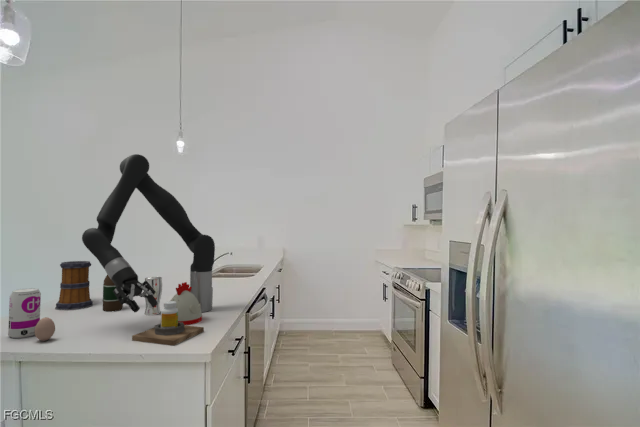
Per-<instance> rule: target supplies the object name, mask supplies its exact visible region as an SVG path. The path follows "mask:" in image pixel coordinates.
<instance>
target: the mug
mask: <svg viewBox="0 0 640 427" xmlns="http://www.w3.org/2000/svg"><path fill="white" fill-rule="evenodd" d="M91 266H92V262H91V261H90V260H72V261H63V262H61V263H60V264H59V267H60V268H61V282H60V287H59V288H60V292H59V298H58V301H57V302H56V304H55V308H54V310H57V311H76V310H78V311H79V310H85V309H87V308H92V307H93V306H94V302H93V301H92V298H91V295H90V277H89V274H90V267H91Z"/></svg>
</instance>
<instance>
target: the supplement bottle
mask: <svg viewBox="0 0 640 427" xmlns="http://www.w3.org/2000/svg"><path fill="white" fill-rule="evenodd" d="M175 307H176V302H175V301H171V300H169V301H164V302H163V308H162V309H161V310H160V323H161V328H175V327H178V309H177V308H175Z"/></svg>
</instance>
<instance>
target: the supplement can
mask: <svg viewBox="0 0 640 427" xmlns="http://www.w3.org/2000/svg"><path fill="white" fill-rule="evenodd" d="M41 295H42V293H41V291H40V290H39V288H33V287H31V288H20V289H14V290H12V292H11V293H10V295H9V305H8V309H9V310H8V328H7V329H8V334H7V335H8V336H9V337H10V338H11V339H23V338H29V337H33V336H35V327H36V325H37V323H38V322H39V321H40V320H41V303H42V302H41V301H42V300H41V297H42V296H41Z"/></svg>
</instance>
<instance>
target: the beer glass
mask: <svg viewBox="0 0 640 427" xmlns="http://www.w3.org/2000/svg"><path fill="white" fill-rule="evenodd" d="M144 281H147V282H148V283H149V284H150V285H151V287H152V288H153V289H154V290H155V292H156V293H155V294H154V295H153V297H154V298H155V299H156V301H157V303H158V304H157V305H156V306H155V307H152V306H151V304H150V303H149V302H148V299H146V298H144V300H145V308H144V309H145V310H144V315H145V316H157V315H161V307H160V306H161V299H162V292H163V277H161V276H148V277H145V278H144ZM149 291H150V290H149ZM150 292H151V291H150ZM145 295H147V296H148V294H147V293H146V294H145Z"/></svg>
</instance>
